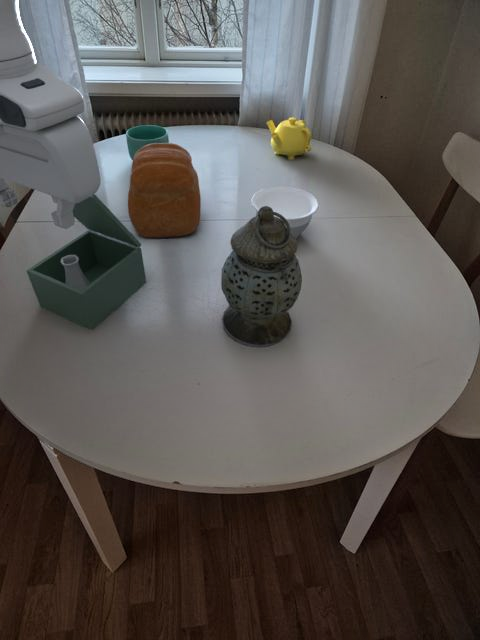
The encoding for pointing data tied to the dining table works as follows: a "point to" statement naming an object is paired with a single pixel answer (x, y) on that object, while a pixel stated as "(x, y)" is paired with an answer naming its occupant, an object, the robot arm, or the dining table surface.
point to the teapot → (290, 137)
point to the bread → (163, 191)
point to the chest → (89, 278)
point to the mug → (145, 137)
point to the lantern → (261, 280)
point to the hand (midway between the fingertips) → (36, 214)
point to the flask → (74, 272)
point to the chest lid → (102, 220)
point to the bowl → (288, 205)
